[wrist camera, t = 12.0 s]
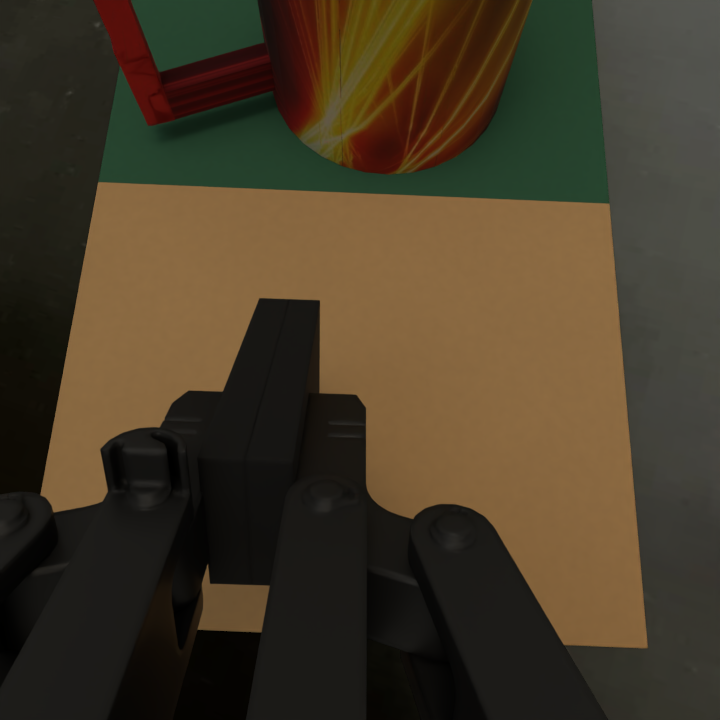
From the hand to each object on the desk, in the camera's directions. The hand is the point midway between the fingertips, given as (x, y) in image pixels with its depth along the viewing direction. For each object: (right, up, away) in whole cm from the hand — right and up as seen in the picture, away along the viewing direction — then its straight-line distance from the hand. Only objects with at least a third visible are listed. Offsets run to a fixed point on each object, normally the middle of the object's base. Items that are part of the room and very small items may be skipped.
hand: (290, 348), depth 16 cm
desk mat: (+2, +6, +9) cm, 11 cm away
